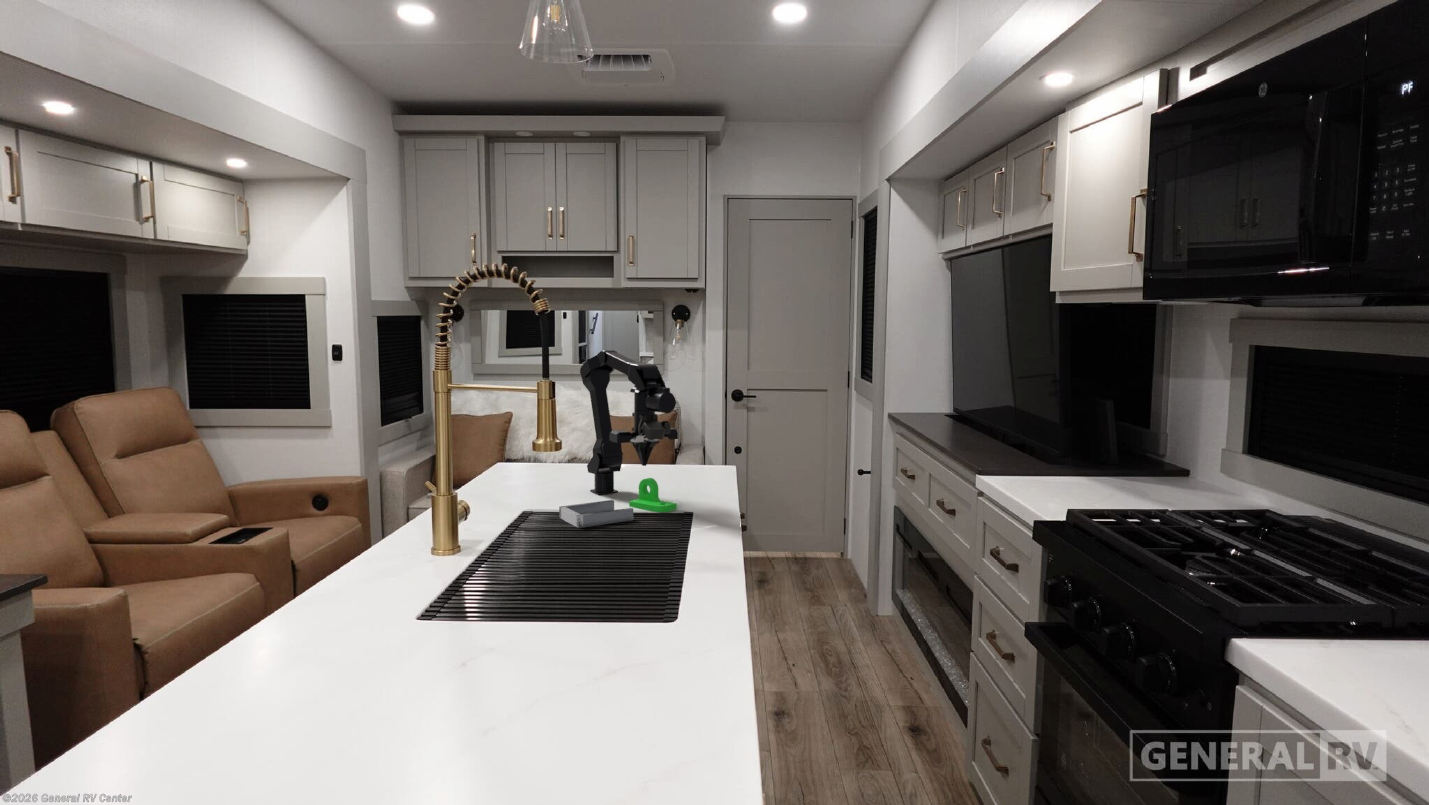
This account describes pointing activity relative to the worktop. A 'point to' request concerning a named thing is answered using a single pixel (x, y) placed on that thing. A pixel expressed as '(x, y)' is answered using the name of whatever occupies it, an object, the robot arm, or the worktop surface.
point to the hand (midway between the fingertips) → (643, 465)
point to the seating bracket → (594, 514)
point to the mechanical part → (651, 498)
